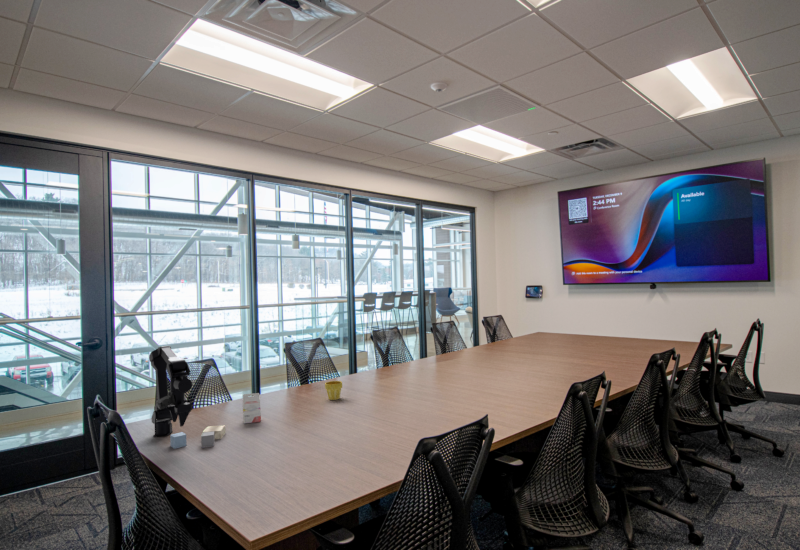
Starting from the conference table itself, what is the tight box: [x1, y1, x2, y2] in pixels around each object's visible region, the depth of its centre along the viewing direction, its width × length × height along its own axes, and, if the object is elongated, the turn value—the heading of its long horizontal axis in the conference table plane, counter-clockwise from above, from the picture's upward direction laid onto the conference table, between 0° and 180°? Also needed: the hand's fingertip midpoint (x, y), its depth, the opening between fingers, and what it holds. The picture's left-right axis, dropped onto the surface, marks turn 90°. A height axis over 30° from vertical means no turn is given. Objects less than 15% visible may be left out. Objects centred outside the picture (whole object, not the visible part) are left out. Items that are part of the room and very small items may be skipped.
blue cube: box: [169, 431, 188, 450], centre depth 196 cm, size 5×5×5 cm
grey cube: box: [200, 431, 216, 448], centre depth 196 cm, size 5×5×5 cm
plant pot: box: [324, 380, 343, 401], centre depth 270 cm, size 10×10×10 cm
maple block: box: [201, 425, 227, 440], centre depth 207 cm, size 8×8×4 cm
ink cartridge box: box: [242, 392, 262, 424], centre depth 229 cm, size 9×5×15 cm, turn 105°
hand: (178, 424), depth 197 cm, fingers open, 9 cm apart
